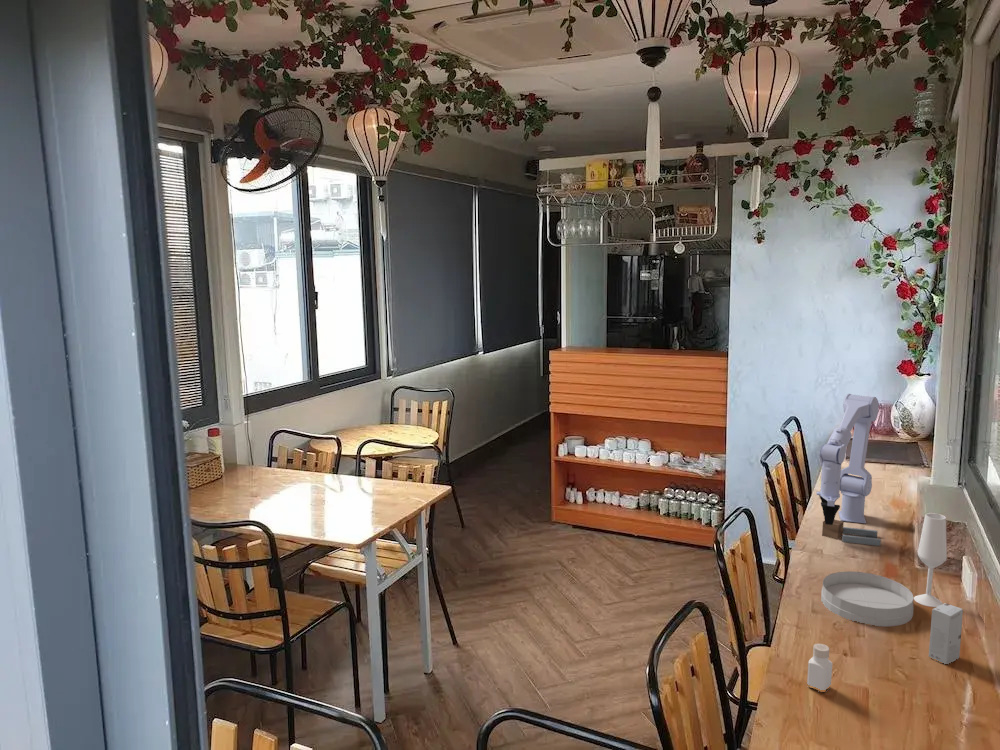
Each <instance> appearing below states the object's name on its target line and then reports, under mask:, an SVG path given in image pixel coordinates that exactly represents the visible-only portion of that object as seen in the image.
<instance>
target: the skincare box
mask: <svg viewBox="0 0 1000 750" xmlns="http://www.w3.org/2000/svg"><path fill="white" fill-rule="evenodd" d="M963 613H964V609H963V608H961V607H958V606H955V605H952V604H949V603H947V602H944V603H942V605H939V606H937V607H933V608H932V609H931V622H930V635H929V647H928V657H931V658H933V659H936V660H938V661H940V662H942V663H944V664H943V665H945V664H948V665H949V663H950V664H952V663H953V662H955V661H957V660H959V658H960V653H961V643H962V641H961V639H962V629H963ZM931 658H930V659H931ZM933 659H932V660H933ZM956 659H957V660H956ZM938 661H937V662H938ZM940 662H939V663H940ZM951 662H952V663H951ZM942 663H941V664H942Z"/></svg>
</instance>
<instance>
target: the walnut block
mask: <svg viewBox="0 0 1000 750" xmlns="http://www.w3.org/2000/svg"><path fill="white" fill-rule="evenodd" d="M844 523H845V521H841V520H840V519H839V520H837V519H834V522H833V524H832V525H828V524H825V520H823V521H822V529H821V530H822V531H821V536H822V537H825V538H826V537H827V538H828V539H829V538H830V539H833V540H839V539H840V538H841V539H842V536H843V535H844V534H843V527H844Z"/></svg>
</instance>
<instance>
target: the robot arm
mask: <svg viewBox="0 0 1000 750" xmlns="http://www.w3.org/2000/svg"><path fill="white" fill-rule="evenodd" d="M879 405H880V403H879V400H878V398H877V396H876V397H875V396H866V395H858V394H851V393H847V394H846V395H845V396H844V398H843V403H842V407H843V413H844V414H843V417H842V420H841V421H840V424H839V426H837V427H835V428H834V429H833V431H832V433H831V435H830V437H829V439H828V441H827V443H825V444H823V445H821V447H820V450H819V459H820V463H819V464H820V467H821V479H820V491H816V493H815V494H816V496H818V497H819V499H820V501H821V502H820V506H821V507H822V514H823V517H824V521H825V524H828V525H832V524H833V522H834V520H835V518H836V515H837V513H838V515H839V521H843V522H847V523H859V524H866V523H867V521H866V518H865V516H864V515H865V506H866V503H865V502H866V497H868V496H869V495H870V494H871V492H872V487H873V482H872V478H873V476H872V474H871V473H870V472H869V470H868V469H866V467H865V465H866V459H867V452H868V444H869V438H870V431H871V425H872V422H874V421H877V419H878V413H879V407H880V406H879ZM853 428H854V431H853V435H852V432H851V431H852V430H853ZM851 438H852V441H851ZM850 441H851V448H850V449H851V450H850V455H849V456H850V457H849V463H848V466H846V467H844V468H842V464H843V463H844V461H845V458H846V455H847V447H848V445H849V443H850ZM840 497H841V506H840V504H836V502H837V501H838V500H839V498H840ZM840 507H841V510H840Z"/></svg>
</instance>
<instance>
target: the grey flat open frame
mask: <svg viewBox="0 0 1000 750" xmlns="http://www.w3.org/2000/svg"><path fill="white" fill-rule="evenodd" d="M841 539H842V543H849V544H850V543H851V544H861V545H869V546H876V547H881V538H878V530H875V529H868V528H867V529H865V528H856V527H848V526H843V536H842V537H841Z"/></svg>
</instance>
